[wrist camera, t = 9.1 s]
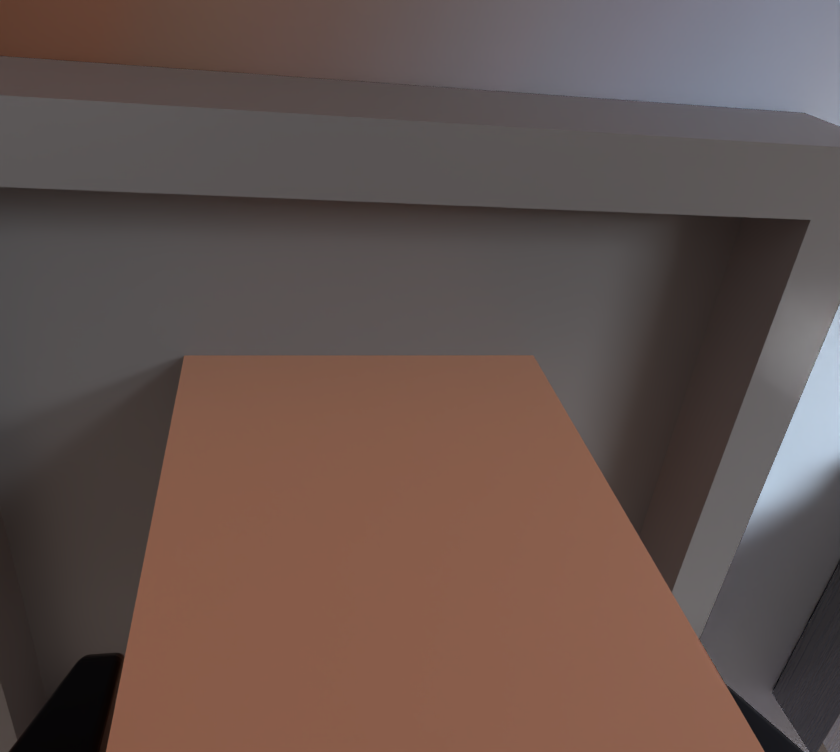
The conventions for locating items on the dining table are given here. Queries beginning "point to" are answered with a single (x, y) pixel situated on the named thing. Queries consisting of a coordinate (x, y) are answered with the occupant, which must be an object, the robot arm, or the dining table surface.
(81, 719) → the robot arm
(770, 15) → the dining table surface
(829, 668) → the mounted unit
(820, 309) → the charcoal tray
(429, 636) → the terracotta block
